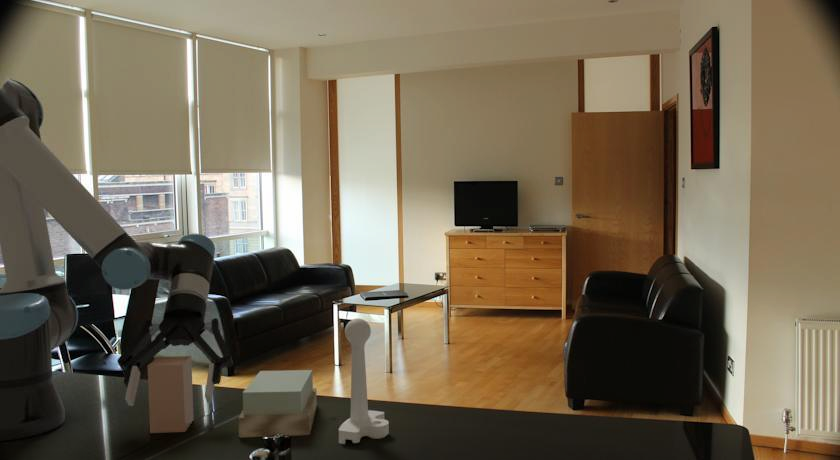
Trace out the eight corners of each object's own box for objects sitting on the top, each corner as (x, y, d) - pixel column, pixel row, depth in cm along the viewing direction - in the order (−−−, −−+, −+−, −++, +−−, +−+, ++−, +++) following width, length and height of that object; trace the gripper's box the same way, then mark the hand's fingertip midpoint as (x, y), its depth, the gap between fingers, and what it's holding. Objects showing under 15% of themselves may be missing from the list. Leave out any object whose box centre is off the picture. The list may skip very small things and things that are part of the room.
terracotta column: (150, 433, 123) (147, 365, 122) (160, 421, 129) (157, 357, 128) (185, 431, 123) (182, 364, 122) (193, 420, 129) (191, 356, 128)
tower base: (239, 440, 120) (238, 418, 120) (254, 410, 136) (253, 390, 136) (309, 438, 121) (309, 415, 120) (316, 408, 137) (316, 388, 136)
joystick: (362, 421, 127) (360, 312, 126) (400, 426, 124) (399, 314, 123) (332, 442, 117) (330, 324, 116) (373, 448, 114) (371, 326, 113)
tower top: (243, 415, 121) (242, 392, 121) (260, 391, 135) (260, 371, 135) (301, 414, 121) (300, 391, 121) (312, 390, 135) (312, 370, 135)
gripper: (254, 311, 141) (243, 407, 127) (126, 315, 139) (102, 413, 125) (249, 289, 136) (237, 387, 122) (116, 292, 134) (89, 393, 120)
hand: (168, 401), depth 123 cm, fingers open, 13 cm apart
